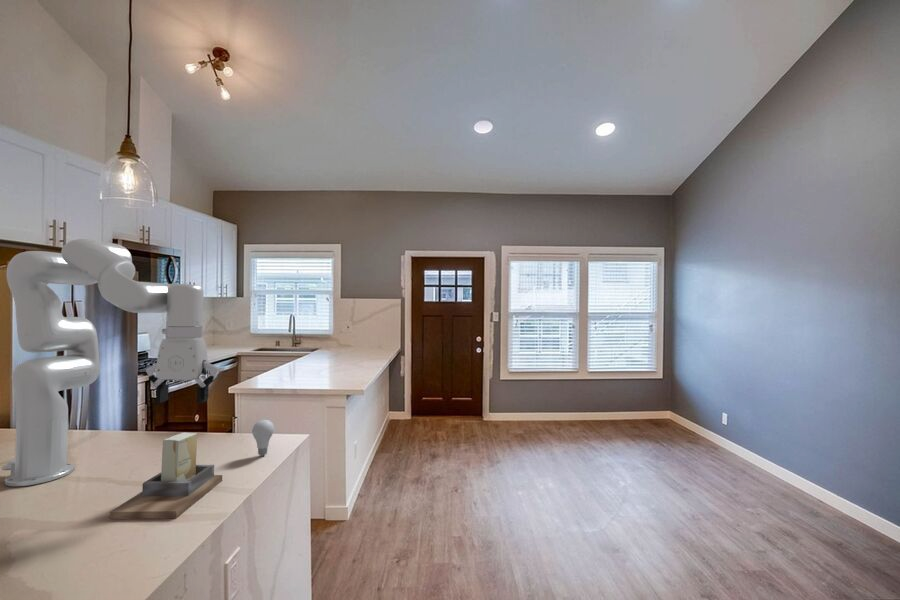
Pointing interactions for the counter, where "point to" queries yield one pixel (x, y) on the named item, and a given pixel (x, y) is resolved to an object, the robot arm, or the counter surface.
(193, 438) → the skincare box
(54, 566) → the counter surface
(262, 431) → the lightbulb
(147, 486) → the holder board
